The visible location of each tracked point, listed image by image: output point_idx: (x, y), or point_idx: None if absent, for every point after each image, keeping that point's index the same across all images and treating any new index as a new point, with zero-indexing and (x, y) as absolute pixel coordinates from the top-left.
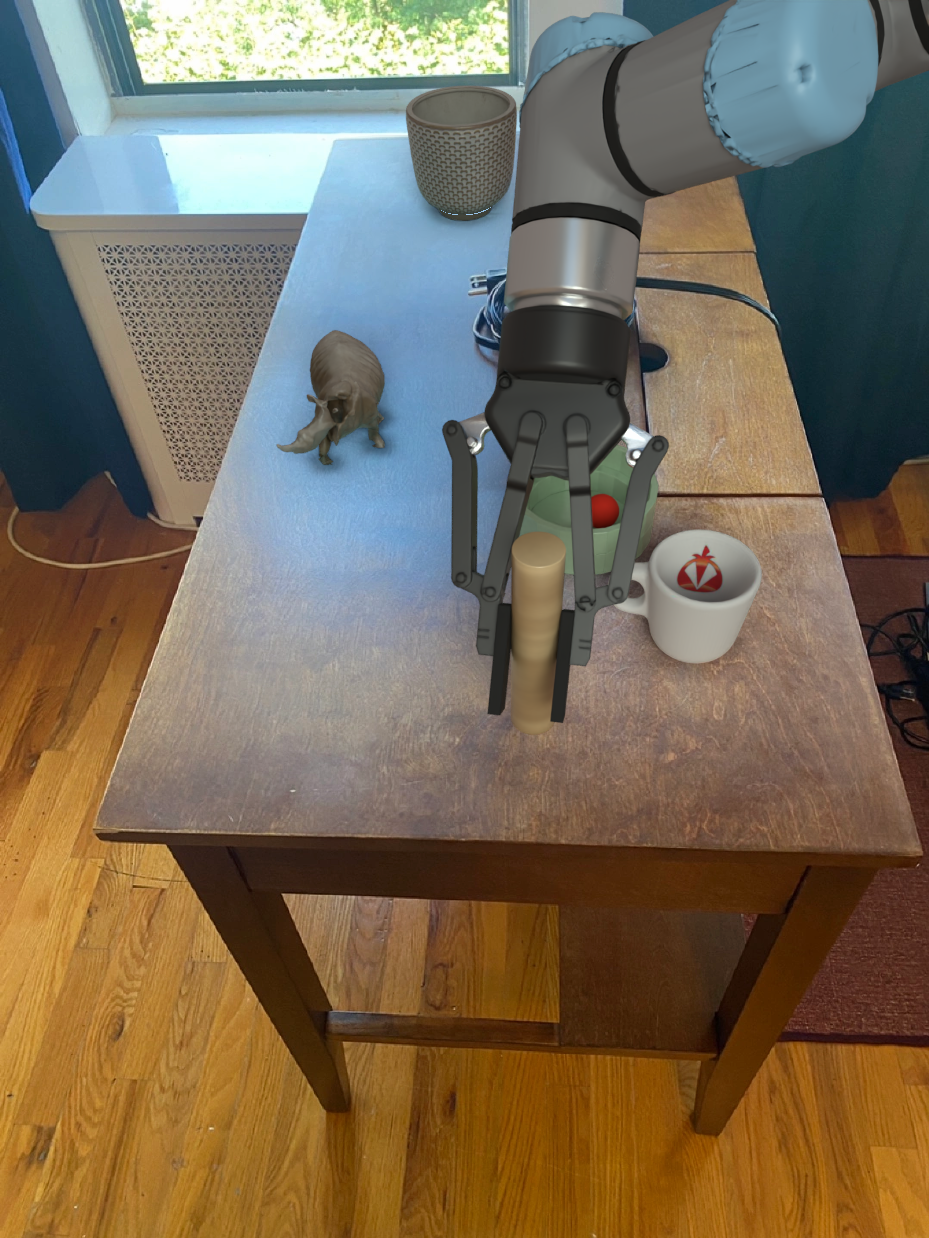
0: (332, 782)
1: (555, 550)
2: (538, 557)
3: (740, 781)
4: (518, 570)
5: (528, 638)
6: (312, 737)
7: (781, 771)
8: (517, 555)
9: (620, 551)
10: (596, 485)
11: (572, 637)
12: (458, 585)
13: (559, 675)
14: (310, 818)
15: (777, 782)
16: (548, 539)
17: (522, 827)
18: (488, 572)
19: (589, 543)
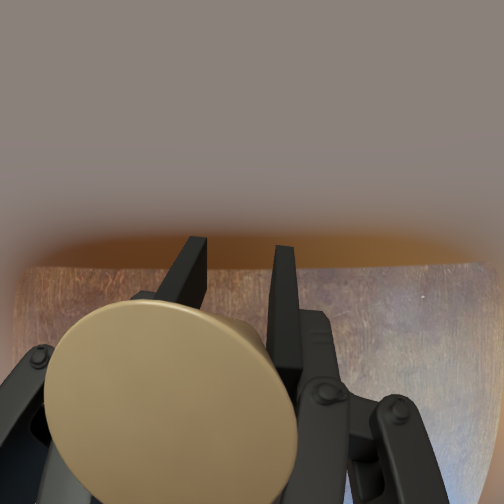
0: (400, 307)
1: (77, 413)
2: (146, 373)
3: (82, 317)
4: (256, 344)
5: (232, 318)
6: (420, 345)
7: (58, 324)
8: (264, 394)
9: (2, 427)
10: None
11: None
12: (399, 396)
13: (183, 271)
14: (407, 274)
15: (62, 315)
16: (117, 486)
17: (247, 276)
18: (339, 435)
19: (51, 470)
